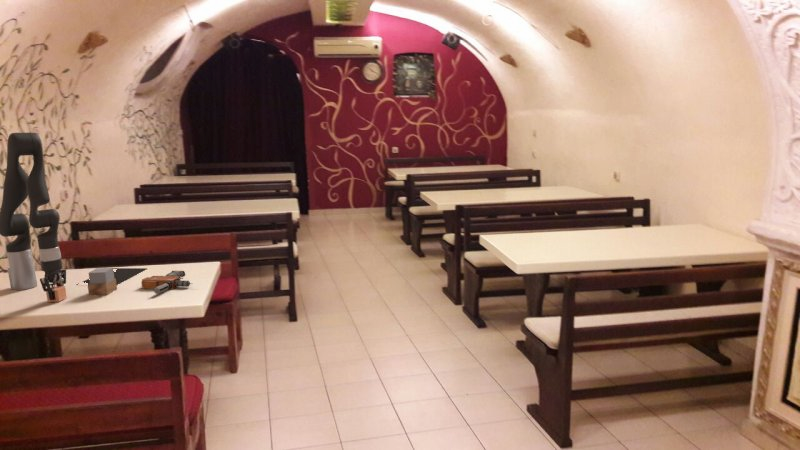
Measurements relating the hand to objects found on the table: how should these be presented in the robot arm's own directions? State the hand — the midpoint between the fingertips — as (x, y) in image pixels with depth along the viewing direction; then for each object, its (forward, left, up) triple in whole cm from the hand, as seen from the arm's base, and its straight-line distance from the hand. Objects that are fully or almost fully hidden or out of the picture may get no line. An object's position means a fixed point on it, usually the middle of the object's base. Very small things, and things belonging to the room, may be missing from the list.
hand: (56, 297), depth 243 cm
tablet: (+6, +33, -2) cm, 34 cm away
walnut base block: (+14, +10, -1) cm, 17 cm away
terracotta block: (0, 0, -1) cm, 1 cm away
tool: (+43, +18, -2) cm, 46 cm away
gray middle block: (+14, +10, +4) cm, 18 cm away
